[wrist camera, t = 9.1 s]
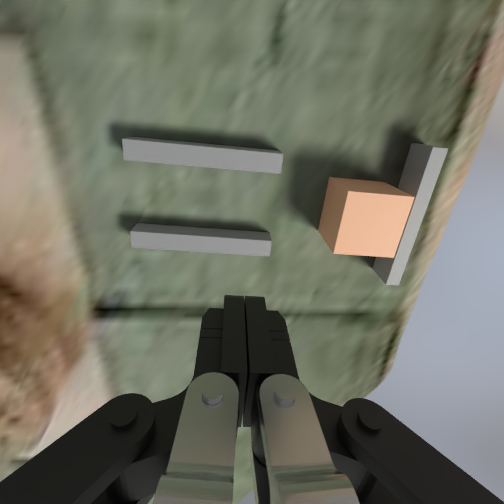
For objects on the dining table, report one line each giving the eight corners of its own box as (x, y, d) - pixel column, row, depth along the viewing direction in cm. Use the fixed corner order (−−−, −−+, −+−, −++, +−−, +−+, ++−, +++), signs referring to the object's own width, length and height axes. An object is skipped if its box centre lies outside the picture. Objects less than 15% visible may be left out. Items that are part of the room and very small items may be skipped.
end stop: (411, 142, 25) (433, 147, 22) (425, 144, 25) (448, 148, 22) (372, 268, 30) (386, 284, 27) (384, 269, 30) (398, 285, 27)
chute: (130, 136, 23) (122, 138, 22) (280, 150, 24) (283, 153, 23) (138, 238, 27) (131, 247, 25) (267, 247, 28) (269, 256, 26)
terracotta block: (329, 176, 26) (348, 191, 21) (384, 181, 26) (414, 197, 21) (317, 230, 28) (333, 253, 23) (368, 234, 28) (393, 257, 24)
